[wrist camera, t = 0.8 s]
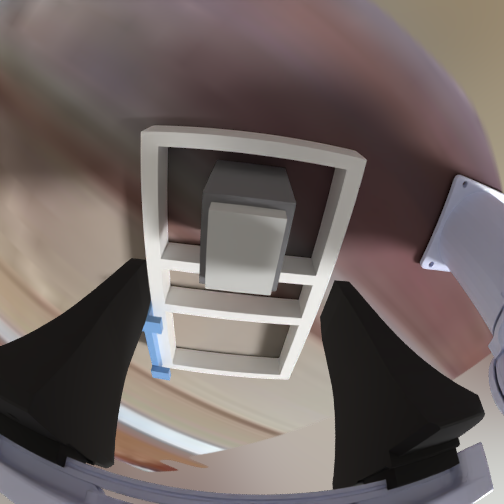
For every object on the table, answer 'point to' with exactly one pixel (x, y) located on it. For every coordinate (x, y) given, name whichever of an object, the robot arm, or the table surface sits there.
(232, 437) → the table surface
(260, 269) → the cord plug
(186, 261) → the white cubby shelf
